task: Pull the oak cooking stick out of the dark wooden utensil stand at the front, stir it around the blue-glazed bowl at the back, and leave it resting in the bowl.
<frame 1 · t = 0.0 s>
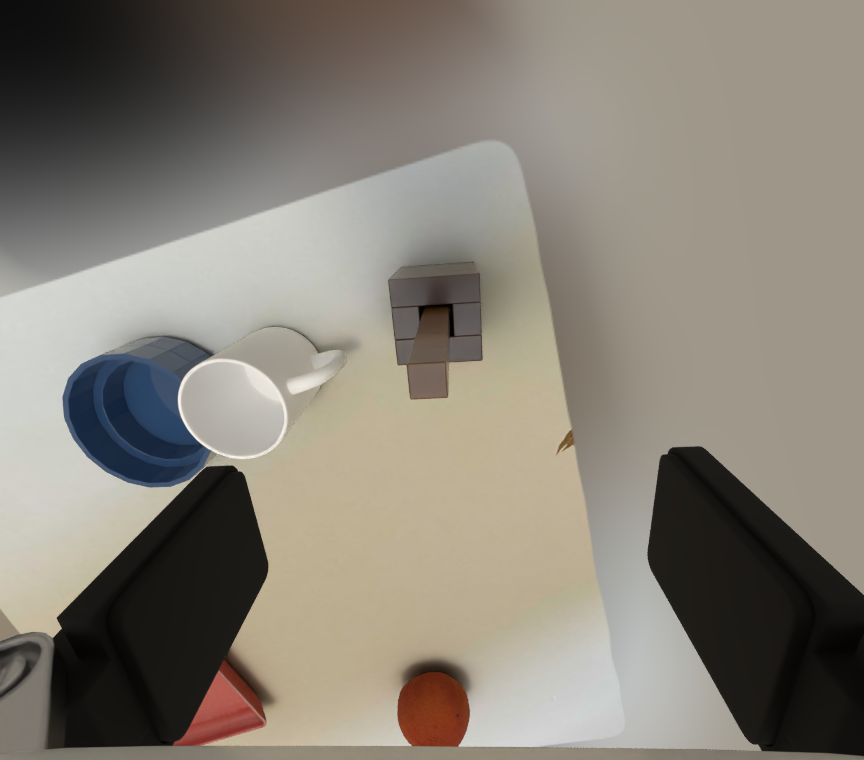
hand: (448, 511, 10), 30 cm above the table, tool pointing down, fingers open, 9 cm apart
plant saucer: (188, 675, 58), on the table
cup: (300, 360, 41), on the table
stick: (435, 328, 29), in the stand
fruit: (435, 678, 56), on the table
bowl: (178, 397, 43), on the table
stand: (439, 300, 38), on the table
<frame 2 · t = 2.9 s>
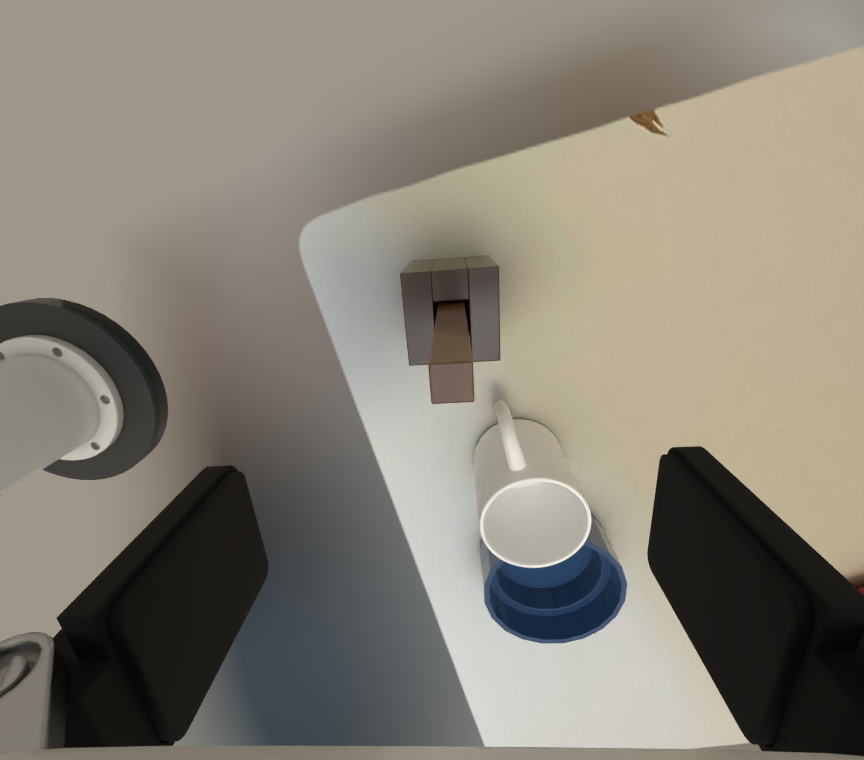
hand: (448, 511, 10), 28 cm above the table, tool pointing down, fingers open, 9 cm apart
cup: (511, 437, 41), on the table
stick: (451, 325, 27), in the stand
bowl: (541, 547, 45), on the table
stand: (451, 297, 36), on the table
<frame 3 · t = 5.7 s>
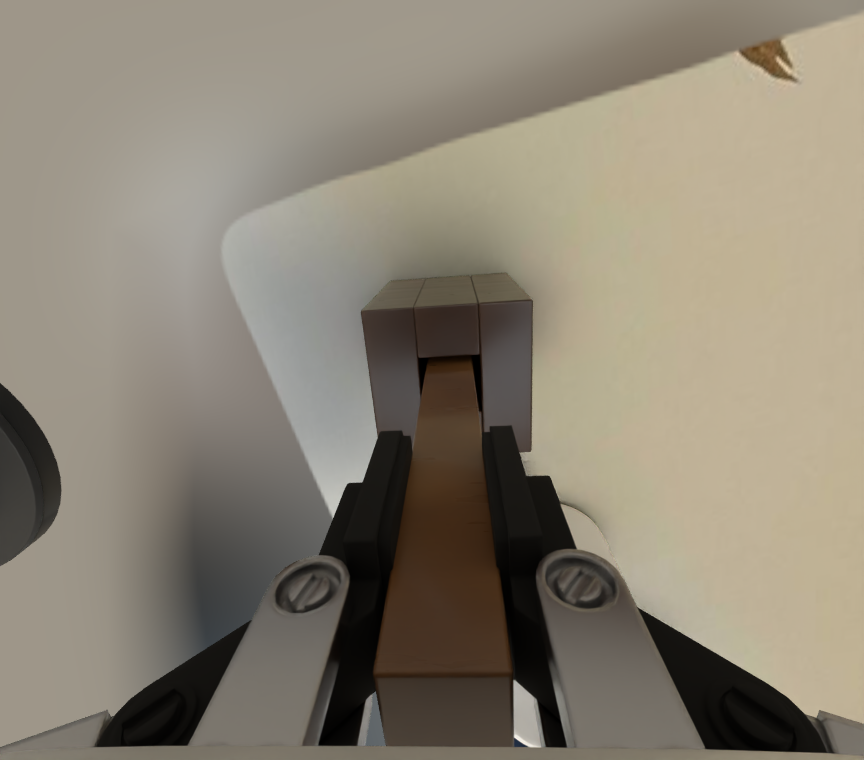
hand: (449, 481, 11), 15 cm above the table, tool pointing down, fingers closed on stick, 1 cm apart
cup: (534, 524, 29), on the table
stick: (450, 406, 15), in the stand, touching gripper
stand: (451, 333, 24), on the table
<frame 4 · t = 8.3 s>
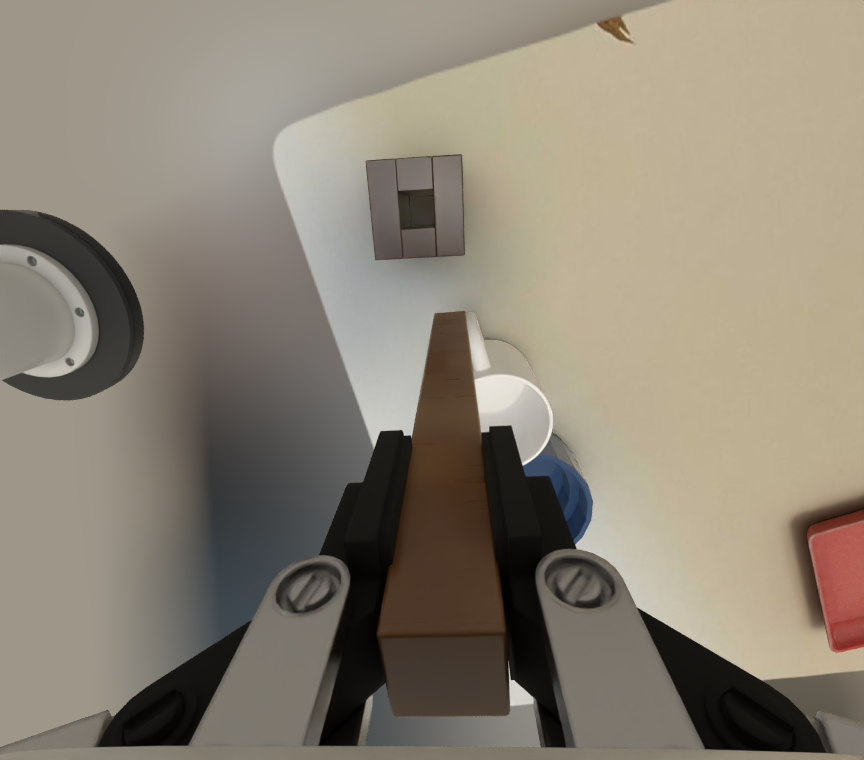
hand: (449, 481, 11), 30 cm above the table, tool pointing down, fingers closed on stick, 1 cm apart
cup: (482, 360, 41), on the table
stick: (449, 396, 15), point 25 cm above the table, touching gripper
bowl: (513, 476, 46), on the table
stand: (423, 211, 37), on the table
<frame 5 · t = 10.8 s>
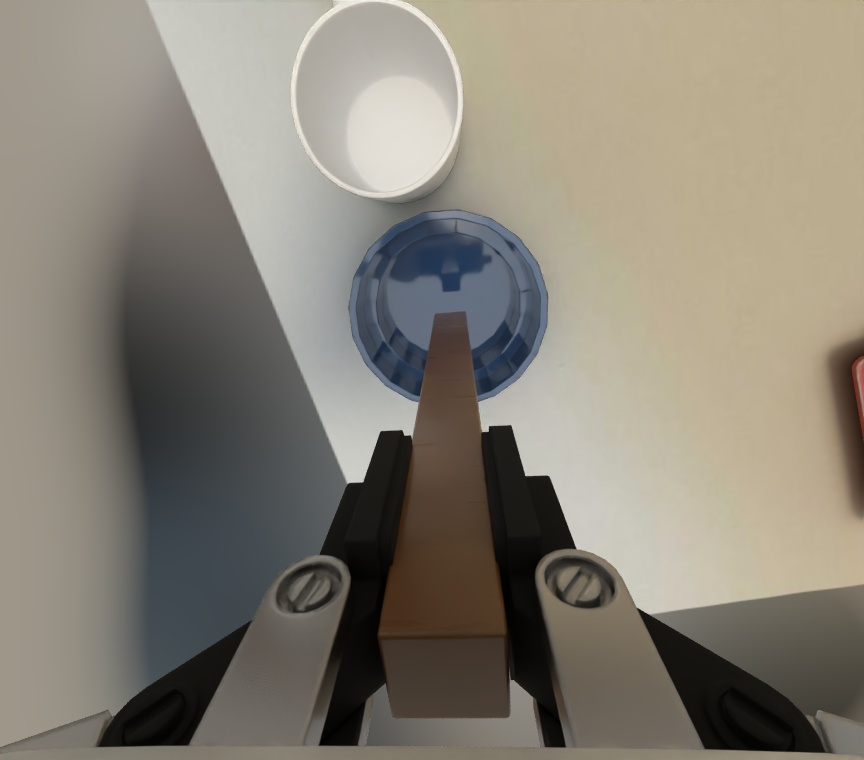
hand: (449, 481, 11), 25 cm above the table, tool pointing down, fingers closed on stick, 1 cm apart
cup: (391, 111, 29), on the table
stick: (450, 397, 15), point 20 cm above the table, touching gripper
bowl: (448, 300, 34), on the table
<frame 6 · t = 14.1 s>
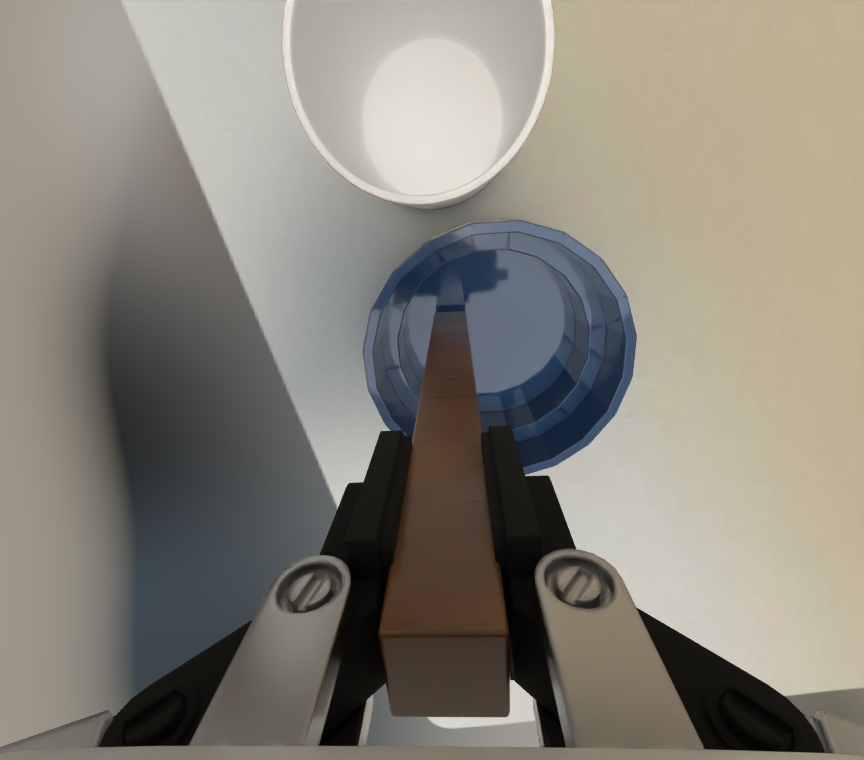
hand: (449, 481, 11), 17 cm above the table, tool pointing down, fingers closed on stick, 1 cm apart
cup: (421, 86, 22), on the table
stick: (450, 396, 15), point 12 cm above the table, touching gripper
bowl: (487, 332, 26), on the table
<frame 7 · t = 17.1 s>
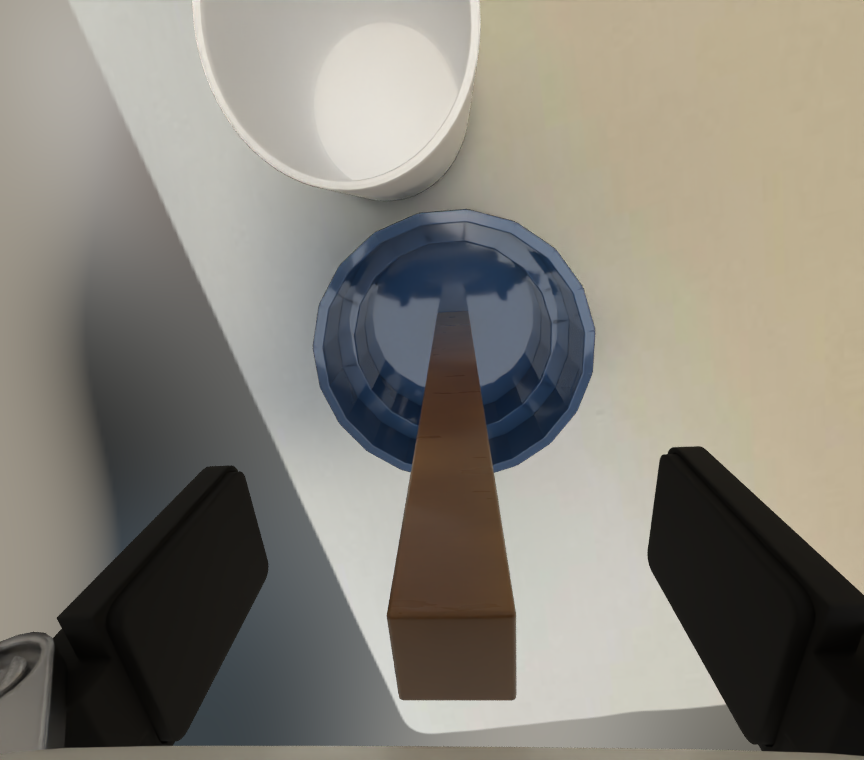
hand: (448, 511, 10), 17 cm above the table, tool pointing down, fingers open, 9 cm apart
cup: (374, 73, 21), on the table
stick: (453, 393, 15), in the bowl, point 11 cm above the table
bowl: (452, 328, 25), on the table
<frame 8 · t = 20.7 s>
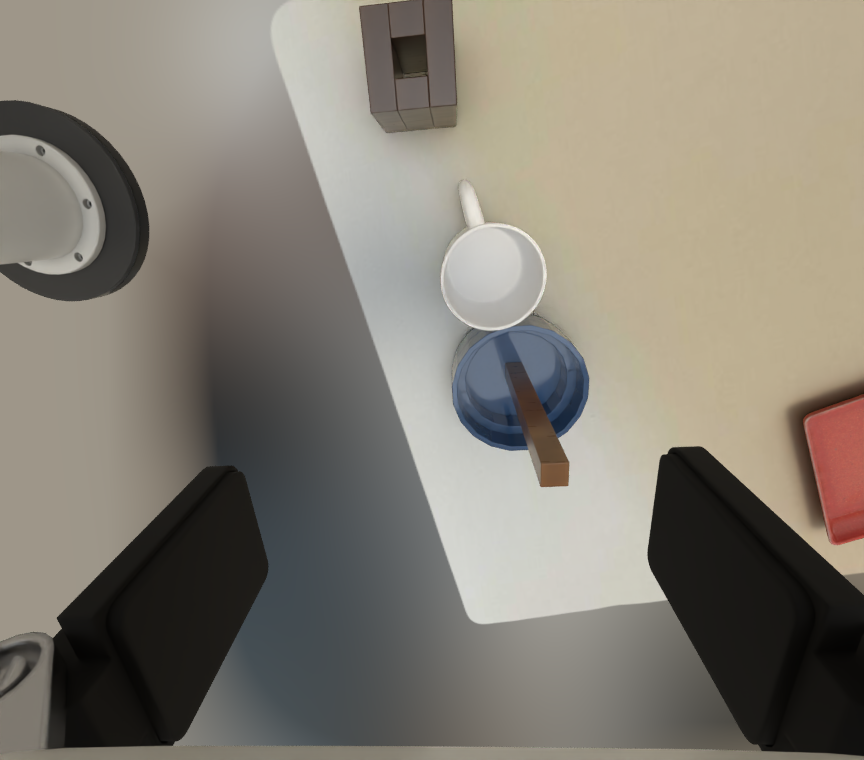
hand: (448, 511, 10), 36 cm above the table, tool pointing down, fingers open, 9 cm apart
cup: (479, 247, 42), on the table
stick: (528, 409, 37), in the bowl, point 11 cm above the table
bowl: (511, 370, 47), on the table
stand: (418, 88, 38), on the table
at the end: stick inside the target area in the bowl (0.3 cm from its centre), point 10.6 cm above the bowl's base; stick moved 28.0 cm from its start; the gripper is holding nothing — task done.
